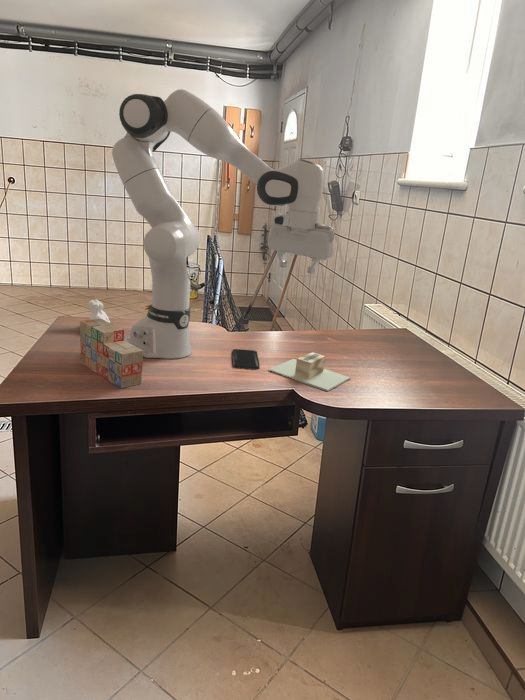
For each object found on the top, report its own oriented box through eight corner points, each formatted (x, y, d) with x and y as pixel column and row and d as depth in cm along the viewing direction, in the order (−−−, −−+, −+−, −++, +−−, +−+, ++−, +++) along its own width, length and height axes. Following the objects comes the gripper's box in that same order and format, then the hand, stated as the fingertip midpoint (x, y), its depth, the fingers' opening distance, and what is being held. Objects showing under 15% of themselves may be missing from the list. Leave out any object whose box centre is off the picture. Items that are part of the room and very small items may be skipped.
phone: (256, 350, 166) (259, 367, 152) (256, 354, 166) (259, 370, 152) (232, 348, 165) (233, 365, 151) (231, 352, 165) (232, 368, 151)
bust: (99, 330, 177) (78, 304, 173) (117, 318, 177) (96, 292, 173) (98, 341, 166) (75, 314, 162) (117, 328, 167) (95, 301, 162)
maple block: (310, 367, 157) (312, 351, 155) (323, 371, 154) (325, 355, 153) (294, 374, 149) (297, 358, 148) (308, 379, 147) (310, 362, 145)
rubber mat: (268, 370, 152) (268, 369, 152) (293, 360, 163) (293, 358, 163) (327, 391, 141) (328, 389, 141) (350, 378, 152) (350, 377, 152)
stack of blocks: (142, 384, 133) (143, 339, 129) (120, 389, 129) (121, 342, 125) (100, 358, 147) (100, 317, 143) (79, 362, 143) (79, 319, 139)
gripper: (340, 226, 142) (333, 276, 147) (279, 216, 153) (274, 263, 157) (330, 226, 137) (322, 278, 142) (267, 216, 148) (262, 264, 152)
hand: (296, 270), depth 150 cm, fingers open, 8 cm apart
